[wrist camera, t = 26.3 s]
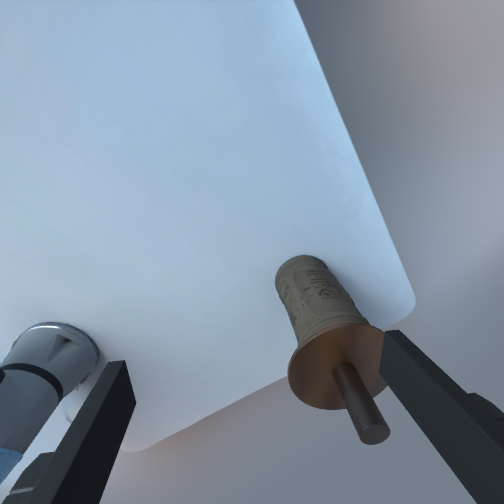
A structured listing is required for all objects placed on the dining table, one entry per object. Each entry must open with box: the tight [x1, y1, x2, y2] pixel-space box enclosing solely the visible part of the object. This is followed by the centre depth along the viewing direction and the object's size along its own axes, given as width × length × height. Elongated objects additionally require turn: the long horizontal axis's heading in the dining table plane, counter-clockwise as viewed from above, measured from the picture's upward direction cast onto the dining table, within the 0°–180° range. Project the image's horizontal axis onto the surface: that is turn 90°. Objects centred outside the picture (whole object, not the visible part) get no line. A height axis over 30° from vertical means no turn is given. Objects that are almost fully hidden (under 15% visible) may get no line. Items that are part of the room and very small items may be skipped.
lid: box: [288, 323, 390, 445], centre depth 28 cm, size 14×14×8 cm
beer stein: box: [275, 255, 370, 346], centre depth 41 cm, size 15×11×20 cm
